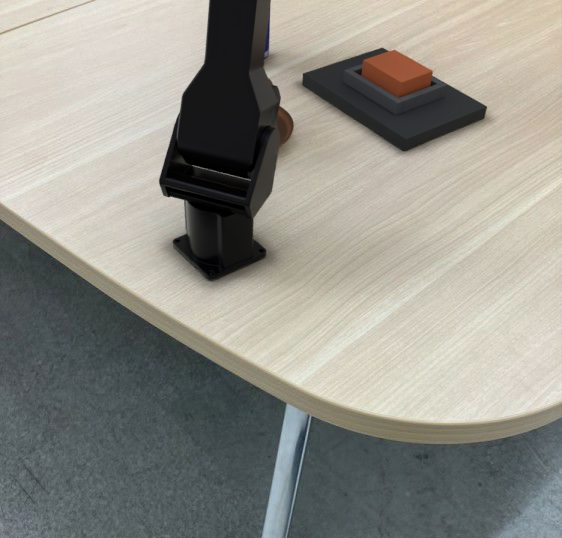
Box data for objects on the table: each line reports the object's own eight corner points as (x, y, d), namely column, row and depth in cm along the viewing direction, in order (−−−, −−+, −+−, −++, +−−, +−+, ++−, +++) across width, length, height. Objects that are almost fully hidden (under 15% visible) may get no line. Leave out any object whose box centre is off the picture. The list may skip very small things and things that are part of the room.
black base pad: (484, 118, 92) (490, 94, 90) (403, 151, 86) (408, 126, 84) (380, 58, 101) (384, 35, 99) (302, 85, 96) (303, 61, 93)
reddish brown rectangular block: (428, 95, 92) (433, 70, 90) (397, 107, 90) (401, 82, 88) (390, 73, 95) (394, 49, 93) (360, 84, 93) (363, 59, 91)
